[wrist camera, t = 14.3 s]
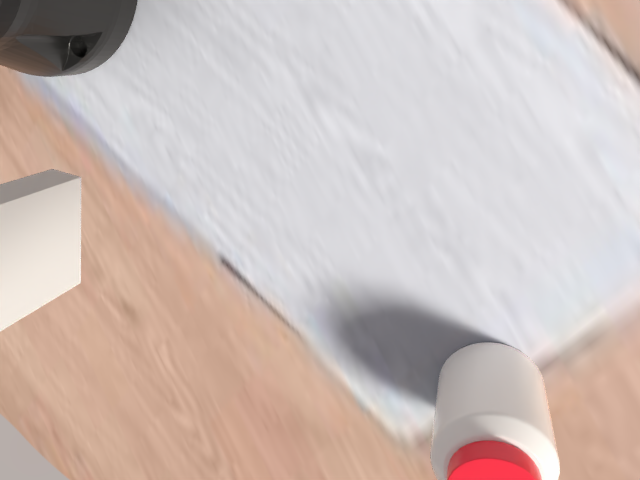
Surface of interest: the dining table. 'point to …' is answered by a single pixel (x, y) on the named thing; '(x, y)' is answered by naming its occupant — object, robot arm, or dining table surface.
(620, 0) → the dining table surface
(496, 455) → the pill bottle
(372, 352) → the dining table surface
